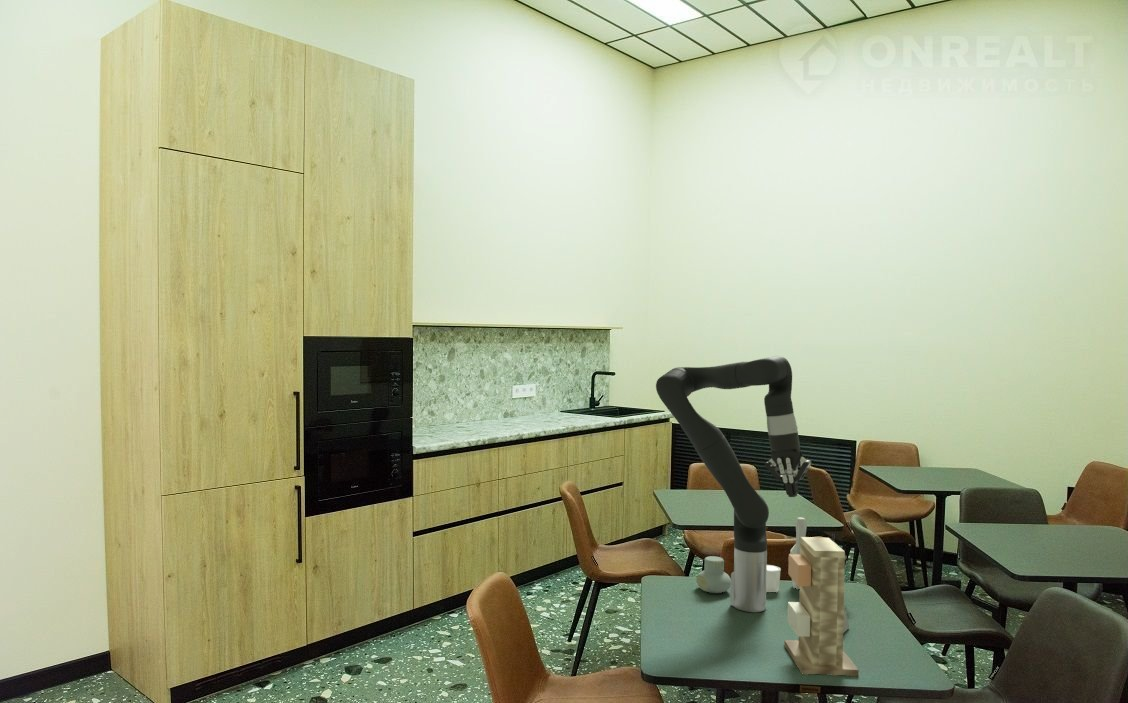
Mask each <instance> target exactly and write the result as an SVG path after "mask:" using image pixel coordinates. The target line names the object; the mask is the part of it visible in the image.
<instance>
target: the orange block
mask: <svg viewBox="0 0 1128 703" xmlns="http://www.w3.org/2000/svg"><path fill="white" fill-rule="evenodd" d="M787 573H788V576H789V577H790V578H791V580H792V579H793V580H794V582H795V583H796V584H797V585H798V586H811V565H810V564H809V563H808V561H807V560H806V559H805V558H804V557H803V556H802V555H801V554H790V553H788V572H787Z"/></svg>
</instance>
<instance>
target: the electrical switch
mask: <svg viewBox="0 0 1128 703" xmlns="http://www.w3.org/2000/svg"><path fill="white" fill-rule="evenodd" d="M845 608H846V607H845V606H844V619H843V634H845V632H847V631H848V630H849V628H850V624H849V619H848V615H847V611H846V609H845Z"/></svg>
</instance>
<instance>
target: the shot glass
mask: <svg viewBox="0 0 1128 703" xmlns="http://www.w3.org/2000/svg"><path fill="white" fill-rule="evenodd" d="M781 571H782V568H781V567H779V566H776V565H772V564H767V573H766V593H767V592H776V593H778V592H779V590H780V588H779V587H780V581H781V580H780V579H781Z"/></svg>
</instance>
